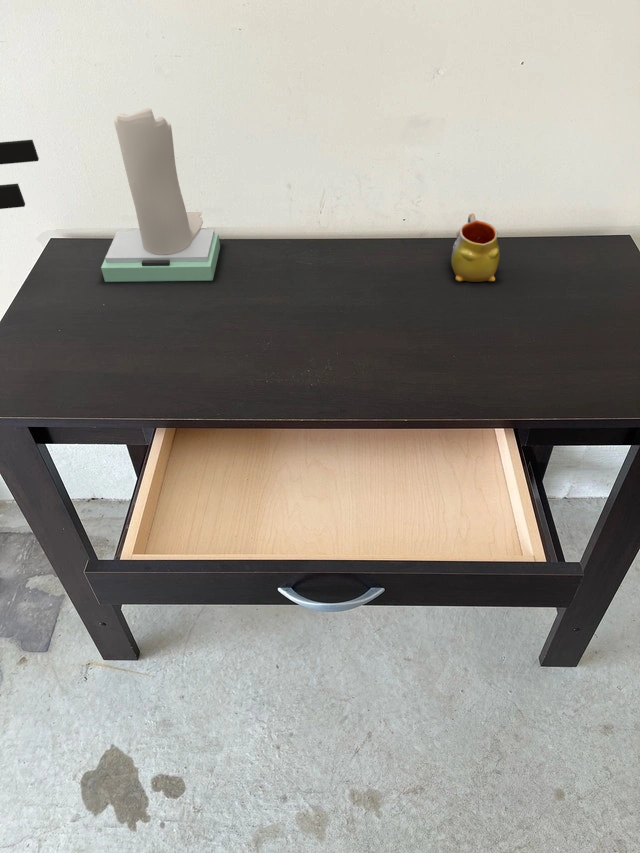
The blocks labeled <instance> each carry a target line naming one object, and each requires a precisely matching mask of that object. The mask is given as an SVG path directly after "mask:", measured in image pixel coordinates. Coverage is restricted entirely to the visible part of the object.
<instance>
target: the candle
mask: <svg viewBox="0 0 640 853" xmlns="http://www.w3.org/2000/svg"><path fill="white" fill-rule="evenodd" d="M113 121H114V122H113V123H114V127H115V131H116V136H117V140H118V144H119V147H120V152H121V156H122V162H123V165H124V169H125V175H126V177H127V181H128V186H129V190H130V194H131V197H132V202H133V205H134V208H135V213H136V219H137V224H138V227H139V229H138V230H140V234H141V239H142V243H143V247H144V249H145V250H146V251H148V252H150V253H153V254H158V255H167V254H173V253H177V252H180V251H182V250H184V249H186V248H187V247H188V246H189V245H190V243H191V242H192V240H193V239H194V237H195V236H196V235H197V233H198V232H199V230H202V226H203V223H204V220H203V217H201V216H202V215H203V211H201V212H186V210H187V209H186V206H185V201H184V198H183V195H182V190H181V186H180V182H179V178H178V172H177V165H176V159H175V158H176V156H175V148H174V138H173V129H172V124H171V123H170V122H168V121H167V120H166V118H165V117H164V116H158V117H157V118H155V115H154V113H153V110H152V108H150V107H147V108H143V109H141V110H139V111H137V112H134V113H132V114H126V113H118V114H116V115H115V116H114V120H113Z"/></svg>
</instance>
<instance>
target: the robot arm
mask: <svg viewBox="0 0 640 853" xmlns="http://www.w3.org/2000/svg"><path fill="white" fill-rule="evenodd" d="M39 159H40V157H39V155H38V152H37V149H36V146H35V143H34V140H33V139H22V140H12V141H0V165H10V164H21V163H22V164H23V163H32V162H39ZM25 206H26V202H25V198H24V197H23V193H22V191H21V188H20V185H19V183H8V184H0V210H5V209H16V208H25Z"/></svg>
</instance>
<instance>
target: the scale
mask: <svg viewBox="0 0 640 853" xmlns="http://www.w3.org/2000/svg"><path fill="white" fill-rule="evenodd" d="M219 235H220V234H219V233H218V232H215V229H213V228H209V229H200V230H199V232H198V233H197V235H196V236H195V237H194V239H193V240H192V242H191V243H190V245H189V246H188V247H187V248H186V249H184V250H182V251H180V252H177V253H173V254H167V255H158V254H153V253H150V252H148V251H146V250H145V249H144V247H143V243H142V239H141V234H140V229H136V230H130V229H129V230H117V231H116V233H115V235H114V237H113V240H112V242H111V244H110V245H109V248H108V251H107V253H106V255H105V257H104V260H103V262H102V265H101V267H100V270H101V273H102V276H103V279H104V282H105V283H114V282H116V283H117V282H118V283H121V282H123V283H124V282H126V283H127V282H195V281H196V282H200V281H201V282H203V281H204V282H205V281H209V282H210V281H213V280H214V276H215V273H216V267H217V263H218V259H219V254H220V249H221V242H220V236H219Z"/></svg>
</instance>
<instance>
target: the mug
mask: <svg viewBox="0 0 640 853" xmlns="http://www.w3.org/2000/svg"><path fill="white" fill-rule="evenodd" d="M498 235H499V232H498V231H497V229H496V228H495V227H494V226H493V225H492V224H490V223H488V222H485V221H481V220H479V219H476V215H475V213H473V212H472V213H470V214H469V215H468V217H467V223H465V224H463V225H462V226H461V227H460V228H459V229H458V230H457V231H456V239H455V241H454V243H453V246H452V252H451V256H450V265H451V268H452V272H453V273H454V275H455V281H457V282H471V283H482V282H495V281H496V277H495V274H496V273H497V271H498V268H499V265H500V259H501V258H500V257H501V252H500V245H499V241H498Z"/></svg>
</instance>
